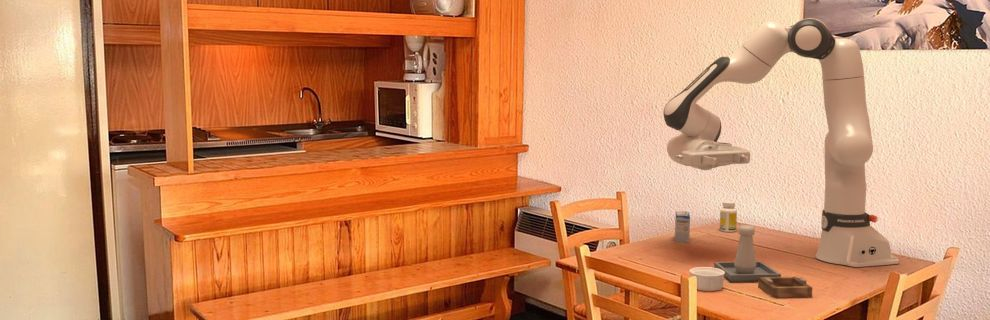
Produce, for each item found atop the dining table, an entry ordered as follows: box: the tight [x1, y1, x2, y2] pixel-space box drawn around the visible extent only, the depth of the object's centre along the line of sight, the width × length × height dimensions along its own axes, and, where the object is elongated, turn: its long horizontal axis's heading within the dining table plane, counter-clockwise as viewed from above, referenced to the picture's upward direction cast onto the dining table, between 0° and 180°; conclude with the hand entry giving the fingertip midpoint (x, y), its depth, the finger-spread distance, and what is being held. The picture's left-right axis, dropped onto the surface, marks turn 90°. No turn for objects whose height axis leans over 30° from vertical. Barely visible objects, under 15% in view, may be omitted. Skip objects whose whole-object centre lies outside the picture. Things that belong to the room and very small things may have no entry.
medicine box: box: [674, 210, 691, 243], centre depth 277 cm, size 8×4×9 cm, turn 169°
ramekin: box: [689, 266, 725, 292], centre depth 224 cm, size 9×9×4 cm
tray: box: [713, 260, 782, 284], centre depth 235 cm, size 14×14×2 cm
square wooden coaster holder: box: [757, 276, 813, 299], centre depth 219 cm, size 10×10×3 cm
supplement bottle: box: [719, 200, 738, 233], centre depth 290 cm, size 5×5×10 cm
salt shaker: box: [733, 224, 756, 274], centre depth 234 cm, size 6×6×13 cm
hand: (731, 161), depth 241 cm, fingers open, 8 cm apart
